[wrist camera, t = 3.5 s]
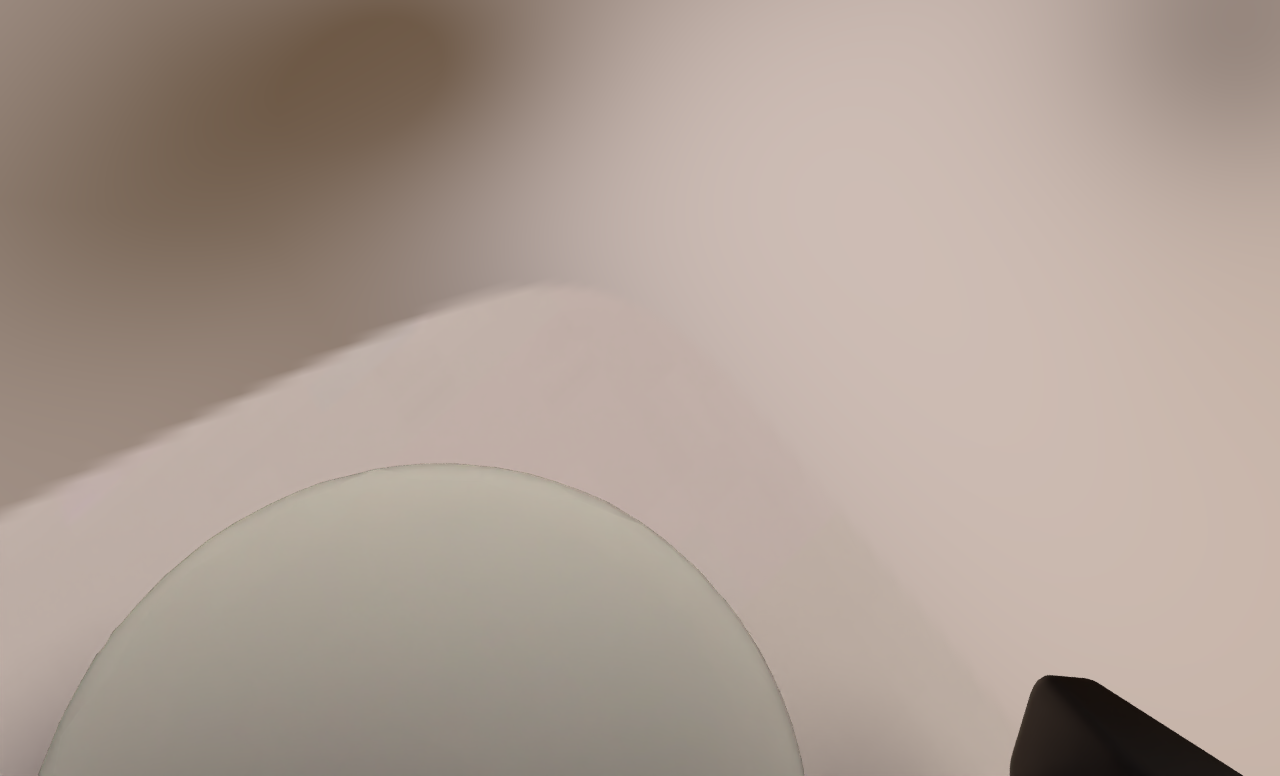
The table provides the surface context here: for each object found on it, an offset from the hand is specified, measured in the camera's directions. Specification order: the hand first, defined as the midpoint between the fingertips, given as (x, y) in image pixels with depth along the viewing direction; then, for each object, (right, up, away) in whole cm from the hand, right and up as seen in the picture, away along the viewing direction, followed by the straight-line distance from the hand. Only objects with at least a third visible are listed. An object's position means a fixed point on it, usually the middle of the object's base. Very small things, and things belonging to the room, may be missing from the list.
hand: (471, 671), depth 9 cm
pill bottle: (-1, -4, +6) cm, 7 cm away
